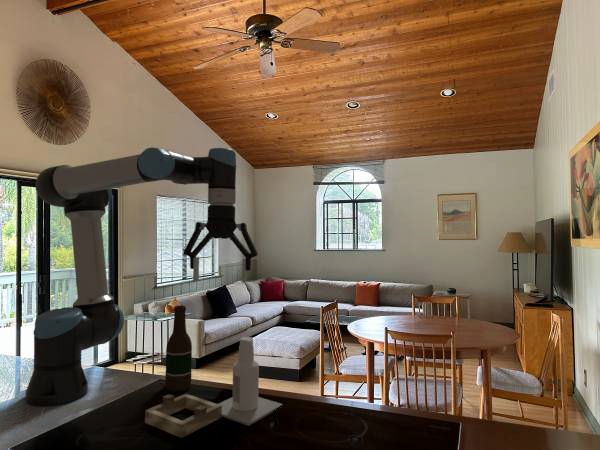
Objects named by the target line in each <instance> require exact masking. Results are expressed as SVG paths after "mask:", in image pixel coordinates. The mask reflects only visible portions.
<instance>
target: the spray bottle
mask: <svg viewBox="0 0 600 450" xmlns="http://www.w3.org/2000/svg"><path fill="white" fill-rule="evenodd" d="M254 349H255V348H254V338H253V337H251V336H243V337H239V346H238V357H237V358H238V360H237V361H235V362H234V363H233V364H232V397H231V398H232V407H233V408H234V409H235V410H238V411H251V410H254V409H256V408H257V407H258V397H259V384H260V383H259V380H260V379H259V378H260V377H259V376H260V373H259V372H260V370H259V369H260V366H259V363H258V362H257V361H256V360H254V359H255V357H254V356H255V354H254Z"/></svg>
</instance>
